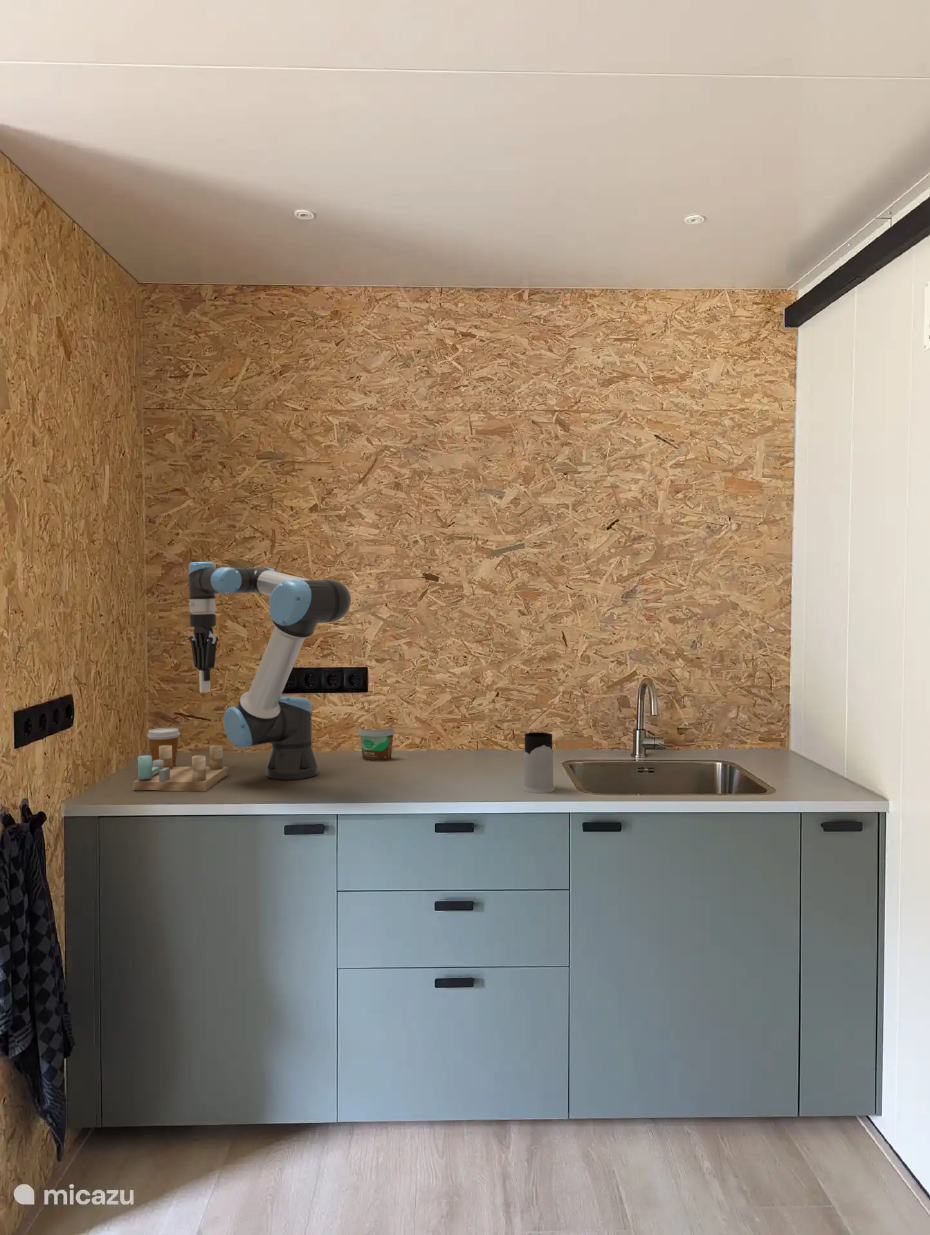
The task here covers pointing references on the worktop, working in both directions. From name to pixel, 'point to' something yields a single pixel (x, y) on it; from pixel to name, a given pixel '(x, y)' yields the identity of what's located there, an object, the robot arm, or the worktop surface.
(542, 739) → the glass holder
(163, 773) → the block
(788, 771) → the worktop surface
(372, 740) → the food container
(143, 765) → the hinged leg
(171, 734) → the disposable coffee cup
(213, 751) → the stool seat
